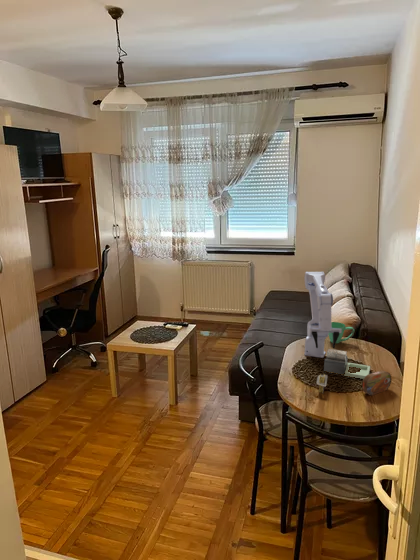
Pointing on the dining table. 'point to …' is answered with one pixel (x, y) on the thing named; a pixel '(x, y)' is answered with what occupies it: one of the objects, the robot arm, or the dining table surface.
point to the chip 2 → (341, 356)
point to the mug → (342, 327)
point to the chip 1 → (331, 354)
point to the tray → (361, 374)
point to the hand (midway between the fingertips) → (325, 348)
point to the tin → (376, 382)
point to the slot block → (335, 366)
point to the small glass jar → (322, 382)
